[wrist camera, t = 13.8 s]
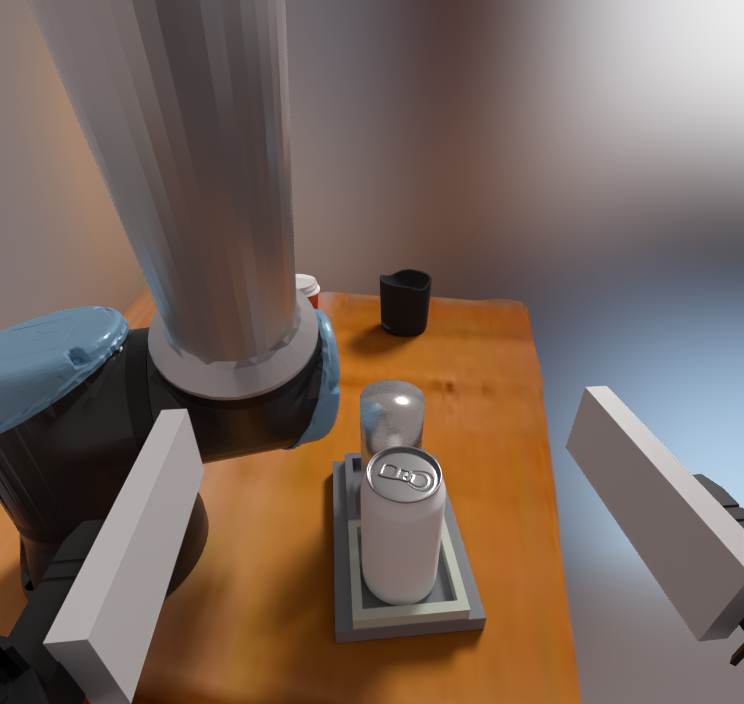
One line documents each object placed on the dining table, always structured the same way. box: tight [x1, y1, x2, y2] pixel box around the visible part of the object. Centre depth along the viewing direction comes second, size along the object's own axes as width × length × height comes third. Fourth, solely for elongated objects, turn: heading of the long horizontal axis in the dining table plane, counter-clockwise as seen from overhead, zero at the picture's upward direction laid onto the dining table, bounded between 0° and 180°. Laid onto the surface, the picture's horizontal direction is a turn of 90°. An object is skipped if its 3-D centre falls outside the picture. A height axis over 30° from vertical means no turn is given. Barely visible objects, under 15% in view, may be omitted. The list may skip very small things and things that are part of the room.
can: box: [361, 446, 446, 606], centre depth 34 cm, size 6×6×12 cm
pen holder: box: [380, 269, 432, 336], centre depth 80 cm, size 9×9×10 cm
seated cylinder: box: [360, 380, 425, 479], centre depth 42 cm, size 6×6×12 cm
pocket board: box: [333, 449, 486, 643], centre depth 42 cm, size 12×18×3 cm, turn 5°
